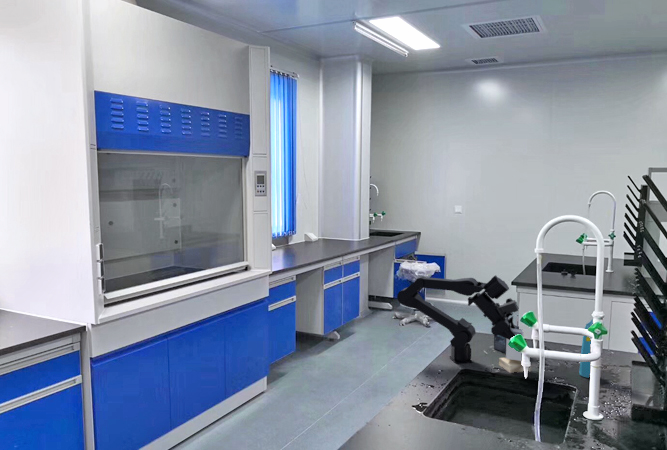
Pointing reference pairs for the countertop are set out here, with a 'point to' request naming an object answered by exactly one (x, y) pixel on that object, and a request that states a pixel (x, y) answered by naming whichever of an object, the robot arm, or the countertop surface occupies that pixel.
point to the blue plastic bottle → (585, 350)
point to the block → (511, 365)
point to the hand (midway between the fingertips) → (519, 340)
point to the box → (501, 342)
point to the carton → (511, 352)
